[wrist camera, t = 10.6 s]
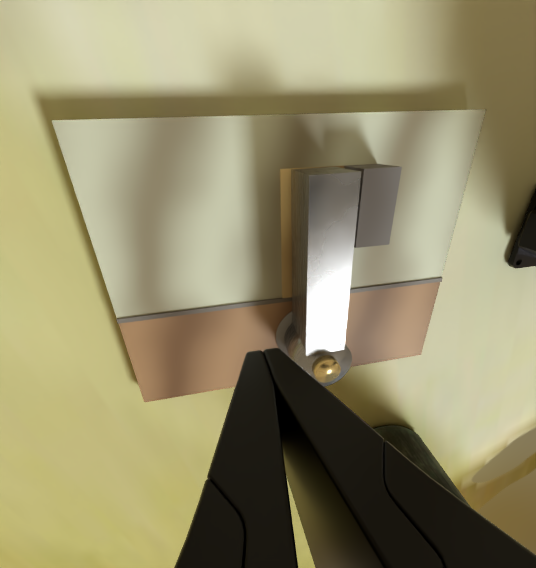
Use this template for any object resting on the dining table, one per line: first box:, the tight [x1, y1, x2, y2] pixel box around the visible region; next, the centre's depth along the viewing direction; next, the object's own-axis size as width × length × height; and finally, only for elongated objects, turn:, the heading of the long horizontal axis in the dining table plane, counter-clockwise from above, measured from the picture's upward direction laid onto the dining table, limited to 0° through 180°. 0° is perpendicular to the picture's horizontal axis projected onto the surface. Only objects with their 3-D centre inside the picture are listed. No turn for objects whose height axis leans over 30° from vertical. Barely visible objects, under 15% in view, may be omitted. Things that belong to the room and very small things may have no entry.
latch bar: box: [284, 167, 361, 387], centre depth 16 cm, size 13×4×4 cm, turn 3°
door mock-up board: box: [52, 109, 486, 402], centre depth 18 cm, size 22×18×4 cm
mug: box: [374, 426, 470, 507], centre depth 27 cm, size 11×15×12 cm
